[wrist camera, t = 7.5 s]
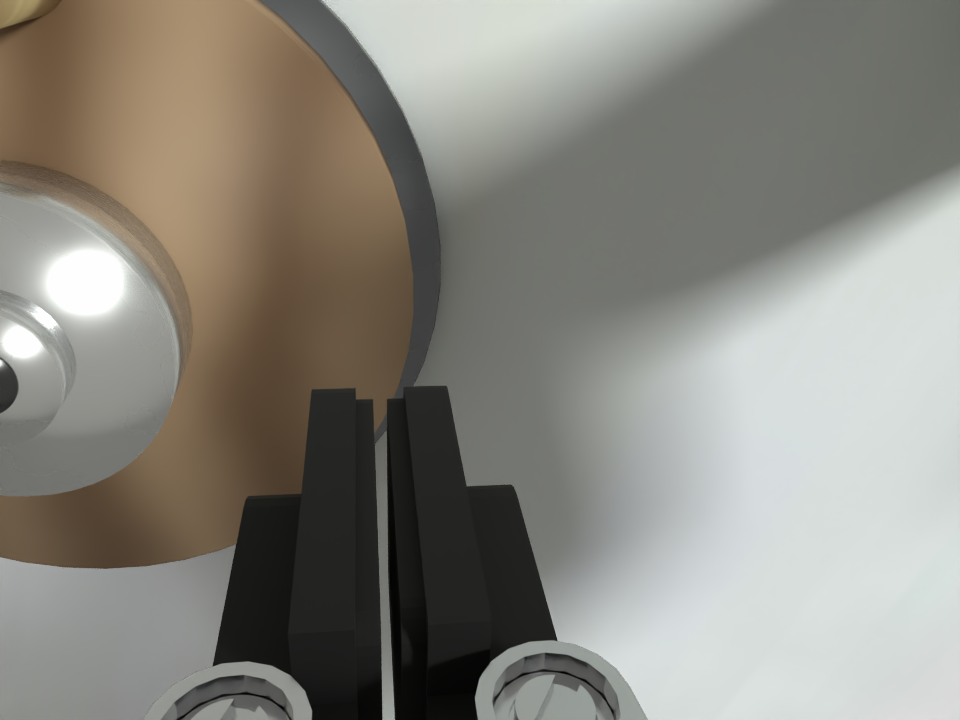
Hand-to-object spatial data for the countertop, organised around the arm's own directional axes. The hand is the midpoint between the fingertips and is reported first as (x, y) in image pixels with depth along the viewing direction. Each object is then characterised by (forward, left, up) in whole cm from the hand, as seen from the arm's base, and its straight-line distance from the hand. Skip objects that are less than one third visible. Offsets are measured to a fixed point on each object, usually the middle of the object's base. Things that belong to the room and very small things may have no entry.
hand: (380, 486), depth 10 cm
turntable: (+9, +4, -16) cm, 19 cm away
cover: (+10, +4, -14) cm, 18 cm away
